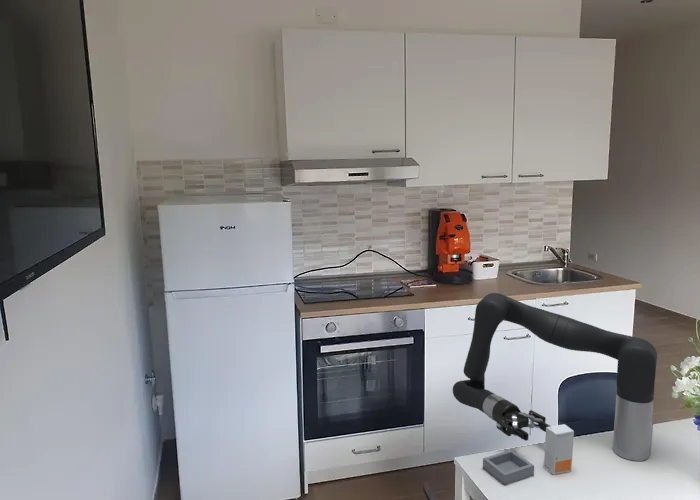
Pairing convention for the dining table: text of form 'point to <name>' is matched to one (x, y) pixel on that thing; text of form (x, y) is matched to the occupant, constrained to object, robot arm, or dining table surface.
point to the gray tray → (508, 467)
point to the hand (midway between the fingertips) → (539, 434)
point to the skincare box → (558, 449)
